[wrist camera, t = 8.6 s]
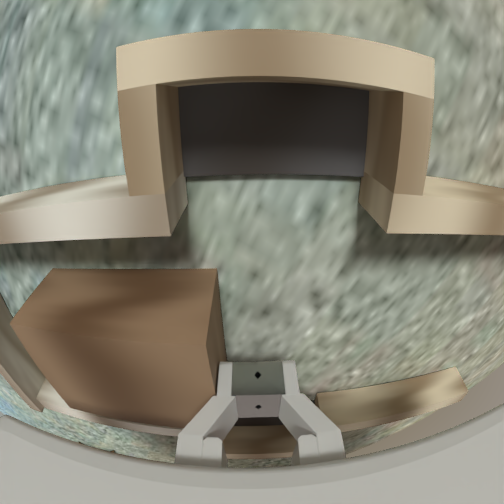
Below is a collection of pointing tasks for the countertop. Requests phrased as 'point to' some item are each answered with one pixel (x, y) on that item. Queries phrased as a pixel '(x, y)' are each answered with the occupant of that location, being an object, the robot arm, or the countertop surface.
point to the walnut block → (127, 340)
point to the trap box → (260, 162)
